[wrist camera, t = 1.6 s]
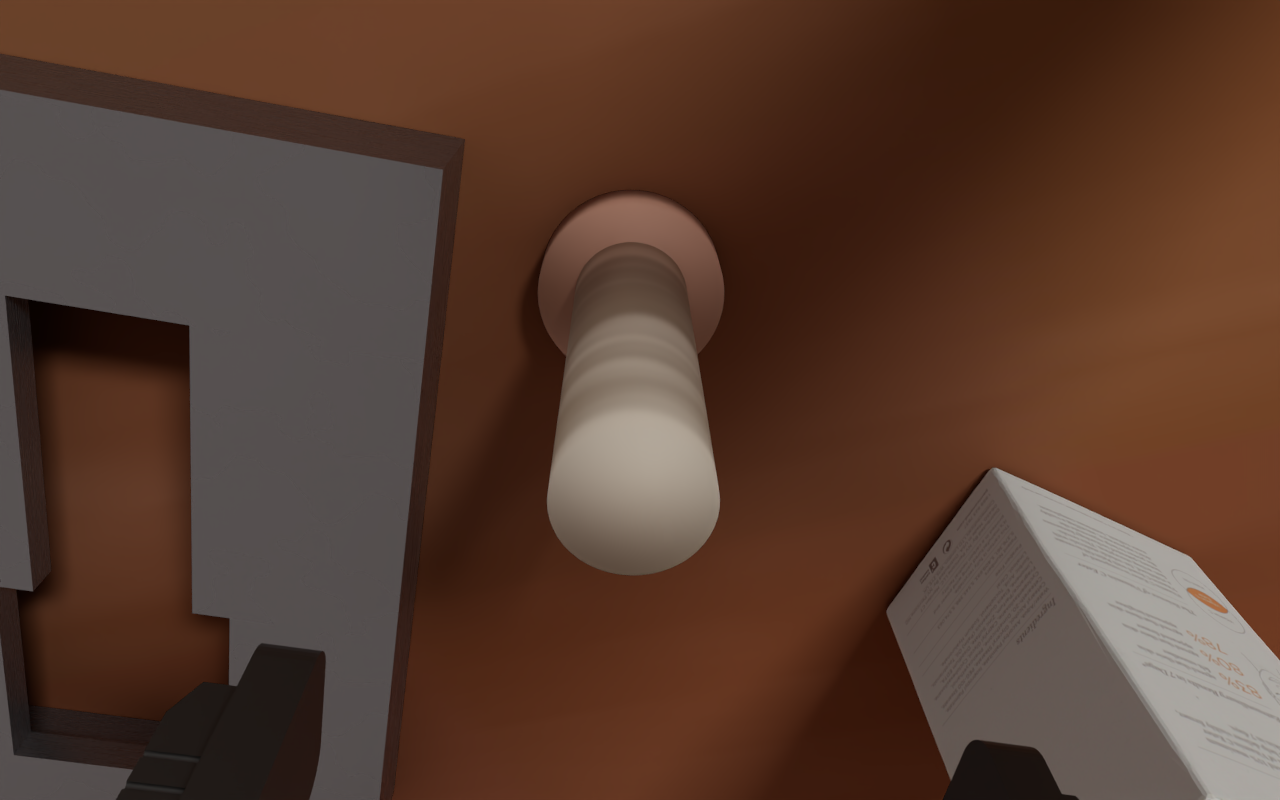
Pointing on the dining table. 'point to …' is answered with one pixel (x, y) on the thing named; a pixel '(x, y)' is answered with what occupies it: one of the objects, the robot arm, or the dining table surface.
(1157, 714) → the small box
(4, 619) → the keyhole plate
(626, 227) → the stud
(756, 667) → the dining table surface
